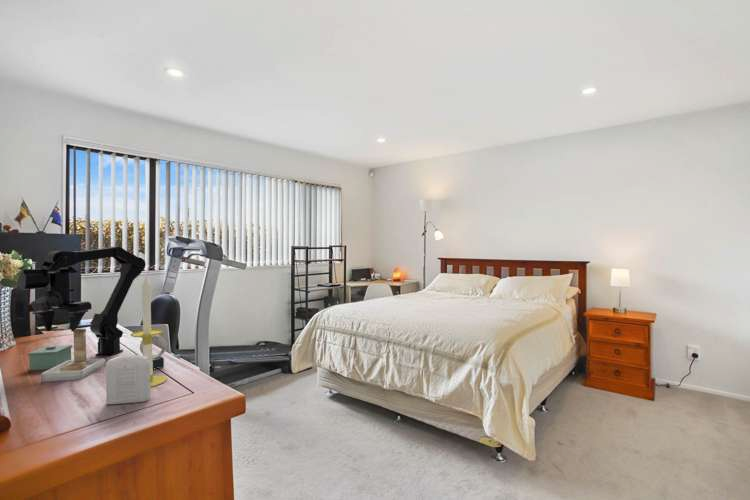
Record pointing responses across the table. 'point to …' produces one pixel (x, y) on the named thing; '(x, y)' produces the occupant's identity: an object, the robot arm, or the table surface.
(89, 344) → the table surface
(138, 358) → the gravestone
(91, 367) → the tray
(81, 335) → the tan cylinder with block
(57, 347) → the green lidded box
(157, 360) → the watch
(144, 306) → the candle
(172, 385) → the table surface
